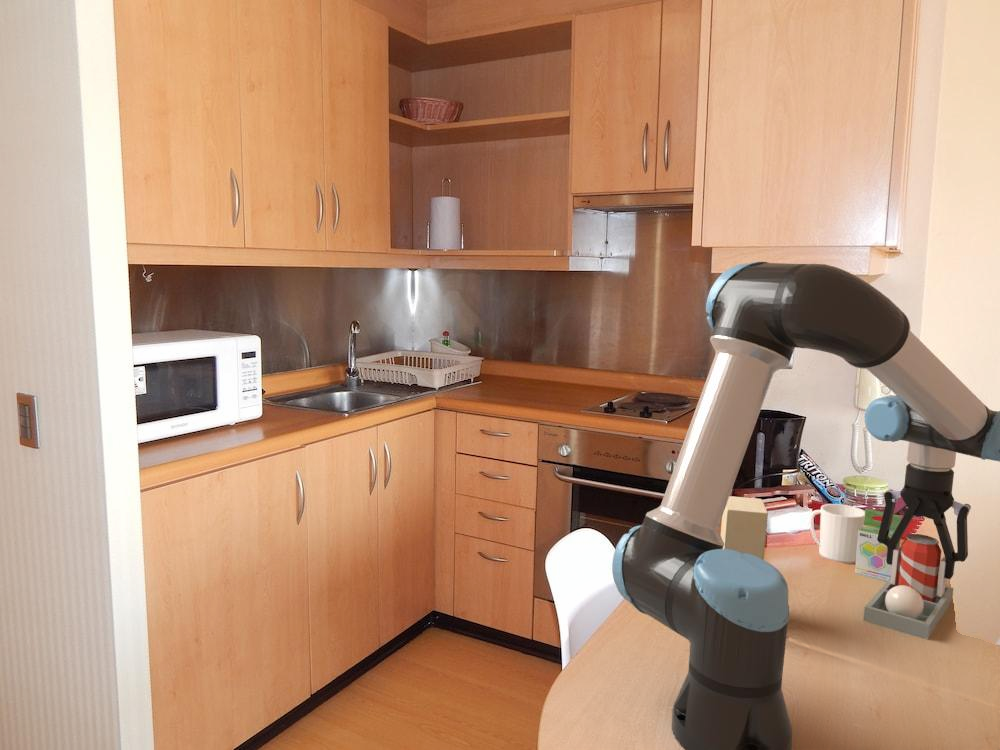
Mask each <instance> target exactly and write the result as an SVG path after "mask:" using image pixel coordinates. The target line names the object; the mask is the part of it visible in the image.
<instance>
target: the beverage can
mask: <svg viewBox="0 0 1000 750" xmlns="http://www.w3.org/2000/svg"><path fill="white" fill-rule="evenodd" d="M905 537H906V539H904V540H903V542H902V543H901V546H900V547H901V554H900V563H899V572H898V581H897V586H899V585H905V586H909V587H912V588H913V589H915V590H916V591H917V592H918V593H919V594H920V595H921V597H922V599H923V600H926V601H930V602H934V603H935V601H936V592H937V584H938V579H939V570H940V562H941V560H942V559H941V558H942V557H941V556H942V549H941V547H940V545H939V542H940V540H938V539H937V538H934V537H933V536H930V535H925V534H920V533H911V534H910V533H909V534H907V535H906V536H905Z"/></svg>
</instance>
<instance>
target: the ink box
mask: <svg viewBox="0 0 1000 750" xmlns="http://www.w3.org/2000/svg"><path fill="white" fill-rule="evenodd" d="M864 511H865V519H864V525H863V527H862V528H861V529H860V530H859V531H858V540H857V553H856V563H855V569H854V574H856V575H859V576H864V577H865V578H866V577H867V578H870V579H874V580H878V581H881V582H885V583H886V582H887V581H888V580H889V579H890V578H891V571H892V565H889V564H887V562H886V559H887V546H886V545H885V544H883V543H879V542H878V540H877V538H878V534H879V530H880V525H881V521H882V520H876V519H874V518H873V517H881V518H882V517H883V513H884V511H880V510H874V509H871V508H865V510H864ZM902 518H903V515H899V514H898V515H897V514H894V513H893V517H892V522H891V526H890V530H889V534H888V537H890V538H891V537H892V535H893V534H894V532H895V530H896V528H897V527H898V525H899V523H900V522H901V520H902ZM900 544H901V539H900V540H899V542H898V544H897V546H899V547H901V546H900Z"/></svg>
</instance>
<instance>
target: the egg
mask: <svg viewBox="0 0 1000 750" xmlns="http://www.w3.org/2000/svg"><path fill="white" fill-rule="evenodd" d="M885 605H886V608H887V610H888V612H891V613H895V614H898V615H902V616H905V617H909V618H912V619H917V618H918V617H919V616H920V615H921V614H922V612H923V609H924V602H923V599H922V597H921V595H920V594H919V593H918V592H917V591H916V590H915V589H913V588H912V587H909V586H905V585H899V586H895V587H893V588H891V589H890V590H889V591H888V592H887V594H886V597H885Z"/></svg>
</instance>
